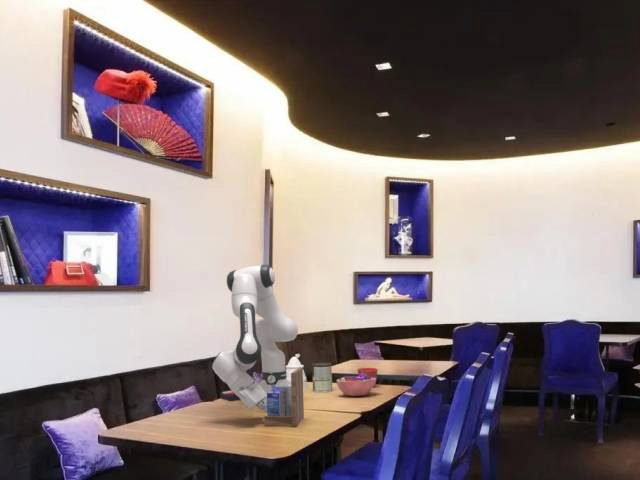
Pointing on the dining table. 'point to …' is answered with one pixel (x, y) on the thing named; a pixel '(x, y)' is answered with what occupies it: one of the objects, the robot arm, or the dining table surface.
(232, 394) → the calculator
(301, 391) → the walnut shelf
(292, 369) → the honey pot
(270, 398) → the ink cartridge box
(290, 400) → the steel bookend
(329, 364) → the coffee can
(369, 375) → the flower pot
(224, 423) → the dining table surface
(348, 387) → the cell model
